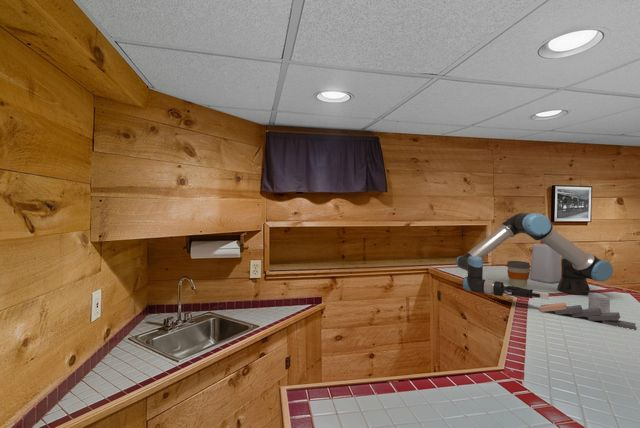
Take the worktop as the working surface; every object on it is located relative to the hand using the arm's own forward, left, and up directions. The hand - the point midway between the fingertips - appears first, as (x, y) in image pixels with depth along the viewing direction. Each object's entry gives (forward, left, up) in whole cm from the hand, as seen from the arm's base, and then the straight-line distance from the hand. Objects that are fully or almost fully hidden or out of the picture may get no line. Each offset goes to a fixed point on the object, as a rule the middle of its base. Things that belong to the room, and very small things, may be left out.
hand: (548, 296), depth 148 cm
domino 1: (+1, +3, -7) cm, 7 cm away
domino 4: (+9, +18, -7) cm, 21 cm away
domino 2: (+3, +9, -7) cm, 11 cm away
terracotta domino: (-1, -3, -7) cm, 7 cm away
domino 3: (+6, +14, -6) cm, 16 cm away
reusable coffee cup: (-51, +2, -8) cm, 52 cm away
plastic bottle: (-71, +24, -8) cm, 76 cm away
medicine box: (-5, +23, -8) cm, 25 cm away
